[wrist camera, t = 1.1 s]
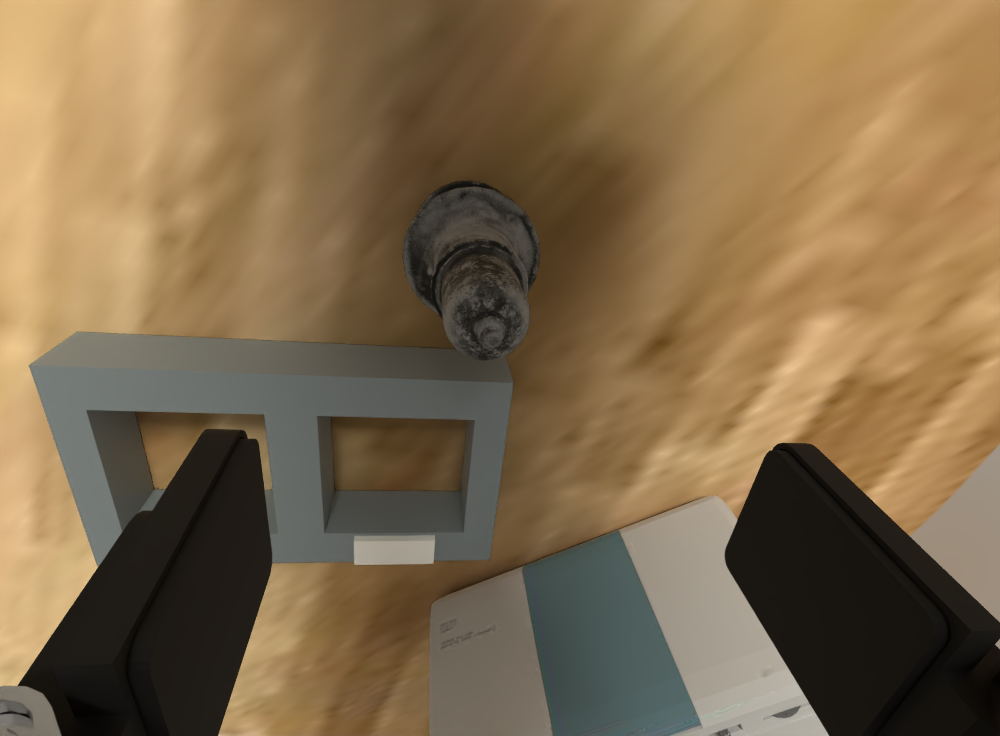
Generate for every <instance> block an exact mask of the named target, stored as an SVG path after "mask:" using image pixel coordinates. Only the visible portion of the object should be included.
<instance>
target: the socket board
mask: <svg viewBox="0 0 1000 736" xmlns="http://www.w3.org/2000/svg"><path fill="white" fill-rule="evenodd" d="M29 367H30V370H31V373H32V376H33V379H34V382H35V384H36V387H37V390H38V393H39V396H40V399H41V402H42V405H43V408H44V411H45V414H46V417H47V420H48V423H49V426H50V429H51V432H52V434H53V437H54V440H55V443H56V446H57V449H58V452H59V455H60V458H61V461H62V464H63V467H64V470H65V473H66V476H67V479H68V482H69V484H70V487H71V490H72V493H73V496H74V499H75V502H76V505H77V508H78V511H79V514H80V517H81V520H82V523H83V526H84V529H85V532H86V534H87V537H88V540H89V543H90V546H91V549H92V552H93V555H94V558H95V561H96V564H97V566H99V565H100V564H101V562H102V561H103V560H104V558H105V557H106V555H107V554H108V552H109V551H110V549H111V548H112V546H113V545H114V543H115V542H116V540H117V539H118V537H119V536H120V535H121V533H122V532H123V530H124V529H125V527H126V526H127V524H128V523H129V522H130V520H131V519H132V518H133V517H134V516H135V515H136V514H137V513H139V512H141V511H152V510H153V509H154V507H155V505H156V504H157V502H158V501H159V499H160V498H161V496H162V495H163V493H164V491H165V490H166V489H154V487H153V483H152V478H151V474H150V470H149V466H148V462H147V458H146V454H145V450H144V446H143V442H142V438H141V434H140V430H139V426H138V422H137V418H136V414H135V411H145V412H184V413H222V414H261V415H264V418H265V427H266V435H267V444H268V453H269V461H270V470H271V478H272V487H273V490H265V498H266V507H267V515H268V523H269V531H270V539H271V547H272V563H317V562H354V565H390V564H434V561H457V560H490V554H491V546H492V539H493V531H494V524H495V517H496V509H497V502H498V494H499V487H500V480H501V472H502V465H503V457H504V450H505V443H506V435H507V428H508V420H509V413H510V406H511V398H512V391H513V379H512V376H511V372H510V368H509V365H508V361H507V358H506V356H504V357H501V358H498V359H495V360H487V361H483V360H475V359H472V358H469V357H467V356H464V355H463V354H462V353H460V352H459V351H458V350H456V349H443V348H421V347H400V346H378V345H356V344H334V343H312V342H291V341H269V340H247V339H225V338H204V337H182V336H160V335H138V334H116V333H95V332H76V333H74V334H73V335H72V336H70V337H69V338H67V339H66V340H64V341H63V342H62V343H60V344H59V345H57V346H56V347H54V348H53V349H51V350H50V351H49V352H47V353H46V354H44V355H43V356H41V357H40V358H38V359H37V360H36V361H34V362H33V363H31V364H30V365H29ZM331 416H338V417H377V418H416V419H454V420H467V427H466V438H465V449H464V460H463V470H462V481H461V491H359V490H334V469H333V448H332V427H331Z"/></svg>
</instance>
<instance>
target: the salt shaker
mask: <svg viewBox="0 0 1000 736" xmlns="http://www.w3.org/2000/svg"><path fill="white" fill-rule="evenodd" d="M403 263H404V269H405V274H406V277H407V279H408V281H409V284H410V286H411V288H412V290H413V291H414V293H415V294H416V295H417V296H418V298H419V299H420V300H421V301H422V303H423V304H425V305H426V306H427V307H429V308H430V309H431V310H433V311H434V312H435V313H437V314H439V316H440V317H441V318H442V319H443V326H444V330H445V333H446V335H447V338H448V339H449V341H450V342H451V343H452V345H453V346H454V347H455V349H456V350H458V351H459V352H460V353H462V354H463V355H464V356H467V357H469V358H472V359H475V360H483V361H487V360H495V359H498V358H501V357H504V356H506V355H508V354H509V353H511V352H512V351H514V350H515V349H516V348H517V347H518V346H519V345H520V343H521V342H522V341H523V339H524V337H525V335H526V334H527V331H528V327H529V323H530V307H529V304H528V301H527V298H526V297H527V294H528V292H529V290H530V288H531V286H532V285H533V283H534V281H535V279H536V276H537V272H538V268H539V264H540V243H539V240H538V237H537V233H536V230H535V227H534V225H533V223H532V222H531V220H530V219H529V217H528V215H527V214H526V212H525V211H524V210H523V209H522V208H521V207H520V206H519V205H518V204H516V203H515V202H514V201H513V200H512V199H511V198H509V197H507V196H505V195H503V194H501V193H500V192H499V191H498V190H496V189H494V188H492V187H490V186H488V185H486V184H484V183H479V182H473V181H461V182H454V183H451V184H448V185H446V186H443V187H441V188H439V189H438V190H436V191H435V192H434V193H432V194H431V195H430V196H429V197H428V198H427V199H426V200H425V202H424V203H423V204H422V205H421V207H420V208H419V211H418V213H417V215H416V216H415V217H414V219H413V220H412V222H411V224H410V226H409V229H408V231H407V234H406V236H405V240H404V248H403Z"/></svg>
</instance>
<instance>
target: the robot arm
mask: <svg viewBox="0 0 1000 736" xmlns="http://www.w3.org/2000/svg"><path fill="white" fill-rule="evenodd" d="M724 557H725V563H726V566H727V568H728V570H729V572H730V573H731V575H732V577H733V578H734V580H735V582H736V583H737V585H738V586H739V588H740V590H741V591H742V593H743V595H744V596H745V598H746V600H747V601H748V603H749V605H750V606H751V608H752V610H753V611H754V613H755V614H756V616H757V618H758V619H759V621H760V623H761V624H762V626H763V628H764V629H765V631H766V633H767V634H768V636H769V638H770V639H771V641H772V642H773V644H774V646H775V647H776V649H777V651H778V652H779V654H780V656H781V657H782V659H783V661H784V662H785V664H786V666H787V667H788V669H789V671H790V672H791V674H792V675H793V677H794V679H795V680H796V682H797V684H798V685H799V687H800V689H801V690H802V692H803V694H804V695H805V697H806V699H807V700H808V702H809V703H810V705H811V707H812V708H813V710H814V712H815V713H816V715H817V717H818V718H819V720H820V722H821V723H822V725H823V727H824V728H825V730H826V731H827V733H828V735H829V736H1000V649H999V648H998V647H997V646H996V645H995V644H996V642H997V641H998V640H999V639H1000V622H999V621H998V620H997V619H995V618H994V617H993V616H992V615H991V614H990V613H989V612H988V611H987V610H986V609H985V608H984V607H983V606H982V605H981V604H980V603H979V602H978V601H977V600H976V599H974V598H973V597H972V596H971V595H970V594H969V593H968V592H967V591H966V590H965V589H964V588H963V587H962V586H961V585H960V584H959V583H958V582H957V581H956V580H955V579H954V578H952V576H950V575H949V574H948V573H947V572H946V571H945V570H944V569H943V568H942V567H941V566H940V565H939V564H938V563H937V562H936V561H935V560H934V559H933V558H931V557H930V556H929V555H928V554H927V553H926V552H925V551H924V550H923V549H922V548H921V547H920V546H919V545H918V544H917V543H916V542H915V541H914V540H913V539H912V538H911V537H910V536H909V535H908V534H906V533H905V532H904V531H903V530H902V529H901V528H900V527H899V526H898V525H897V524H896V523H895V522H894V521H893V520H892V519H891V518H890V517H889V516H888V515H887V514H886V513H884V512H883V511H882V510H881V509H880V508H879V507H878V506H877V505H876V504H875V503H874V502H873V501H872V500H871V499H870V498H869V497H868V496H867V495H866V494H865V493H864V492H862V491H861V490H860V489H859V488H858V487H857V486H856V485H855V484H854V483H853V482H852V481H851V480H850V479H849V478H848V477H847V476H846V475H845V474H844V473H843V472H842V471H841V470H839V469H838V468H837V467H836V466H835V465H834V464H833V463H832V462H831V461H830V460H829V459H828V458H827V457H826V456H825V455H824V454H823V453H822V452H821V451H820V450H819V449H817V448H816V447H815V446H813V445H811V444H806V443H780V444H777V445H776V446H775V447H774V448H773V450H772V451H769V452H768V453H767V454H766V456H765V457H764V460H763V462H762V464H761V467H760V469H759V471H758V474H757V476H756V478H755V481H754V483H753V485H752V488H751V490H750V492H749V495H748V497H747V499H746V502H745V504H744V506H743V509H742V511H741V513H740V516H739V518H738V520H737V523H736V525H735V527H734V530H733V532H732V534H731V537H730V539H729V541H728V544H727V546H726V549H725V555H724ZM271 567H272V547H271V539H270V531H269V523H268V515H267V507H266V498H265V490H264V482H263V474H262V466H261V458H260V450H259V444H258V441H257V440H256V439H248V438H247V434H246V433H245V431H243V430H225V429H207V430H205V431H204V432H203V433H202V434H201V436H200V437H199V439H198V440H197V442H196V443H195V445H194V447H193V448H192V450H191V451H190V453H189V454H188V456H187V457H186V459H185V460H184V462H183V464H182V465H181V467H180V468H179V470H178V471H177V473H176V474H175V476H174V478H173V479H172V481H171V482H170V484H169V485H168V487H167V488H166V490H165V491H164V493H163V495H162V496H161V498H160V499H159V501H158V502H157V504H156V505H155V507H154V509H153V510H152V511H141V512H139V513H137V514H136V515H135V516H134V517H133V518H132V519H131V520H130V522H129V523H128V524H127V526H126V527H125V529H124V530H123V532H122V533H121V535H120V536H119V537H118V539H117V540H116V542H115V543H114V545H113V546H112V548H111V549H110V551H109V552H108V554H107V555H106V557H105V558H104V560H103V561H102V562H101V564H100V565H99V567H98V568H97V570H96V571H95V573H94V574H93V576H92V577H91V579H90V580H89V582H88V583H87V585H86V586H85V587H84V589H83V590H82V592H81V593H80V595H79V596H78V598H77V599H76V601H75V602H74V604H73V605H72V607H71V608H70V609H69V611H68V612H67V614H66V615H65V617H64V618H63V620H62V621H61V623H60V624H59V626H58V627H57V629H56V630H55V632H54V633H53V634H52V636H51V637H50V639H49V640H48V642H47V643H46V645H45V646H44V648H43V649H42V651H41V652H40V654H39V655H38V656H37V658H36V659H35V661H34V662H33V664H32V665H31V667H30V668H29V670H28V671H27V673H26V674H25V676H24V677H23V679H22V680H21V681H20V683H19V684H18V686H1V687H0V736H218V734H219V731H220V728H221V725H222V722H223V718H224V715H225V712H226V709H227V706H228V703H229V700H230V697H231V694H232V691H233V688H234V684H235V681H236V678H237V675H238V672H239V669H240V666H241V663H242V660H243V657H244V654H245V651H246V647H247V644H248V641H249V638H250V635H251V632H252V629H253V626H254V623H255V620H256V617H257V613H258V610H259V607H260V604H261V601H262V598H263V595H264V592H265V589H266V586H267V583H268V580H269V576H270V573H271Z"/></svg>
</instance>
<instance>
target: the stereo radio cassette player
mask: <svg viewBox="0 0 1000 736" xmlns="http://www.w3.org/2000/svg"><path fill="white" fill-rule="evenodd" d="M736 523H737V518H736V517H735V516H734V514H733V513H732V511H731V510H730V509H729V507H728V506H727V504H726V503H725V502H724V501H723V500H722V499H720V498H719V497H718V496H717V495H713V496H707V497H704V498H700V499H698V500H695V501H693V502H690V503H687V504H685V505H682V506H679V507H677V508H674V509H671V510H669V511H666V512H664V513H661V514H658V515H656V516H653V517H650V518H648V519H645V520H643V521H640V522H637V523H635V524H632V525H629V526H627V527H624V528H622V529H619V530H616V531H614V532H611V533H608V534H606V535H603V536H601V537H598V538H595V539H593V540H590V541H587V542H585V543H582V544H580V545H577V546H574V547H572V548H569V549H566V550H564V551H561V552H559V553H556V554H553V555H551V556H548V557H545V558H543V559H540V560H538V561H535V562H532V563H530V564H527V565H524V566H522V567H519V568H516V569H514V570H511V571H509V572H506V573H503V574H501V575H498V576H495V577H493V578H490V579H488V580H485V581H482V582H480V583H477V584H474V585H472V586H469V587H467V588H464V589H461V590H459V591H456V592H453V593H451V594H448V595H446V596H445V597H442V598H440V599H438V600H436V601H435V602H434V603H433V604H432V607H431V614H430V644H429V736H829V735H828V733H827V731H826V730H825V728H824V727H823V725H822V723H821V722H820V720H819V718H818V717H817V715H816V713H815V712H814V710H813V708H812V707H811V705H810V703H809V702H808V700H807V699H806V697H805V695H804V694H803V692H802V690H801V689H800V687H799V685H798V684H797V682H796V680H795V679H794V677H793V675H792V674H791V672H790V671H789V669H788V667H787V666H786V664H785V662H784V661H783V659H782V657H781V656H780V654H779V652H778V651H777V649H776V647H775V646H774V644H773V642H772V641H771V639H770V638H769V636H768V634H767V633H766V631H765V629H764V628H763V626H762V624H761V623H760V621H759V619H758V618H757V616H756V614H755V613H754V611H753V610H752V608H751V606H750V605H749V603H748V601H747V600H746V598H745V596H744V595H743V593H742V591H741V590H740V588H739V586H738V585H737V583H736V582H735V580H734V578H733V577H732V575H731V573H730V572H729V570H728V568H727V566H726V563H725V557H724V555H725V549H726V546H727V544H728V541H729V539H730V537H731V534H732V532H733V530H734V527H735V525H736Z"/></svg>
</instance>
